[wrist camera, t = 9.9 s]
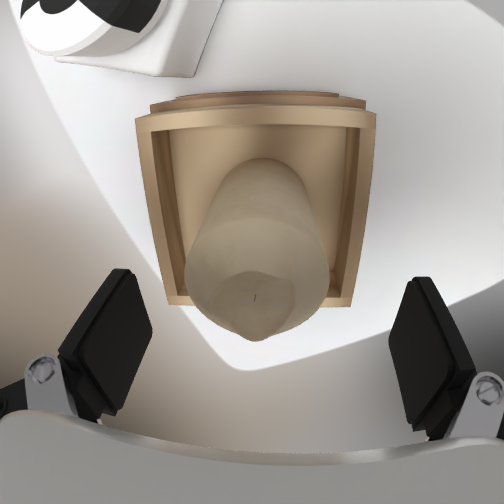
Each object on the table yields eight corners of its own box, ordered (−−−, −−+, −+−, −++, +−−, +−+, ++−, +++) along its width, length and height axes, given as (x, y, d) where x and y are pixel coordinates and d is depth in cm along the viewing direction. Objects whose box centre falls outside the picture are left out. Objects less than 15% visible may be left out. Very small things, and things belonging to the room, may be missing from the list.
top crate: (357, 107, 16) (376, 113, 13) (341, 275, 22) (350, 306, 19) (158, 111, 17) (134, 118, 14) (180, 274, 23) (168, 304, 20)
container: (137, -21, 15) (38, -71, 4) (228, -9, 16) (182, -91, 5) (108, 61, 19) (-12, 68, 8) (194, 79, 20) (110, 79, 9)
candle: (302, 241, 20) (320, 363, 12) (218, 237, 20) (184, 355, 12) (311, 160, 17) (351, 244, 9) (217, 155, 17) (164, 234, 9)
